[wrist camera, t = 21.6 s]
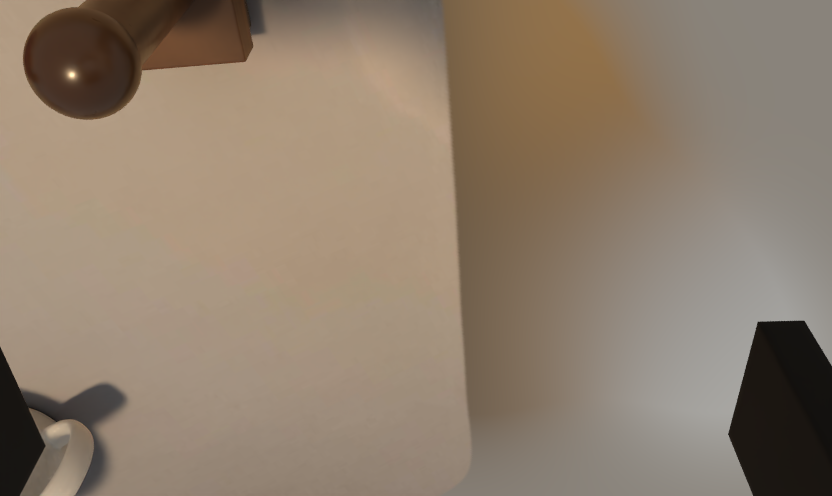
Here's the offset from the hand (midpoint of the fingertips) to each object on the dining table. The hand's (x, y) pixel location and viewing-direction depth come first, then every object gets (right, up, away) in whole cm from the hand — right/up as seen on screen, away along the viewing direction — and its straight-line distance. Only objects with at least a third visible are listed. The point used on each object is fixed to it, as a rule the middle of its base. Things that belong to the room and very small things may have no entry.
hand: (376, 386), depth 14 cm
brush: (-10, +16, +23) cm, 30 cm away
